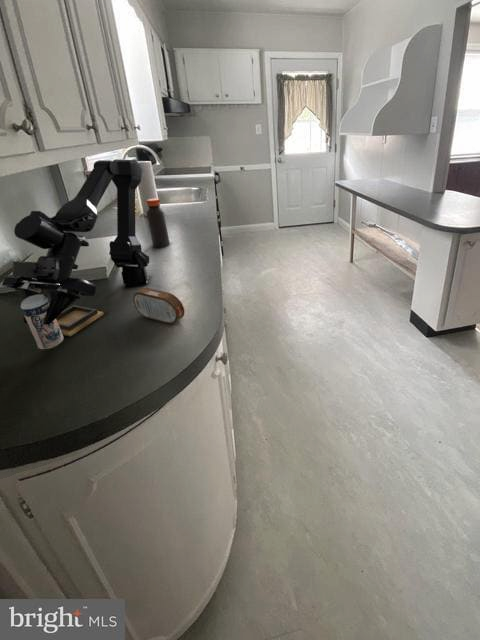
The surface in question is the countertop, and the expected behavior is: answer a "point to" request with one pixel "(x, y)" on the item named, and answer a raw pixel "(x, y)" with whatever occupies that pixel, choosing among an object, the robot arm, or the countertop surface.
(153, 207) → the bottle
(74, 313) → the socket pad
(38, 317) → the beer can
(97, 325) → the countertop surface
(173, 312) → the tin
